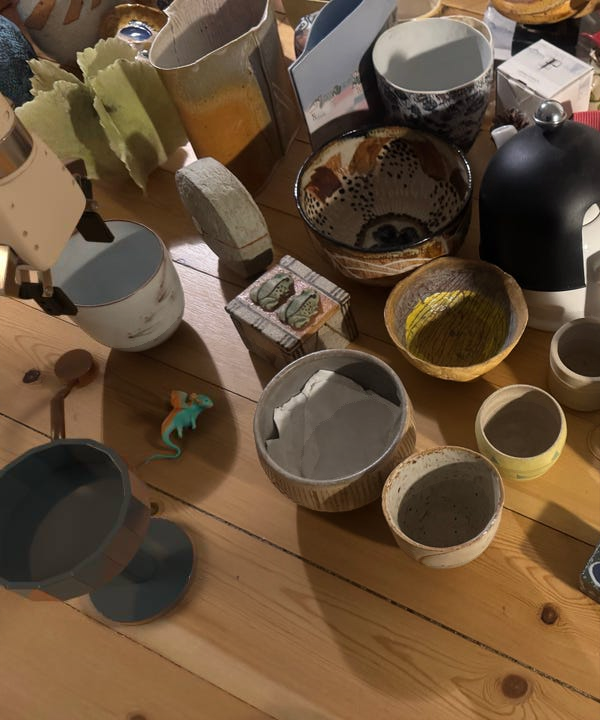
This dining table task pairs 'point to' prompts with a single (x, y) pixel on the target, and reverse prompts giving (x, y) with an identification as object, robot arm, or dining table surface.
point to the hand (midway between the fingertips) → (83, 275)
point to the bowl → (89, 534)
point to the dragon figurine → (182, 416)
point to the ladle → (70, 384)
